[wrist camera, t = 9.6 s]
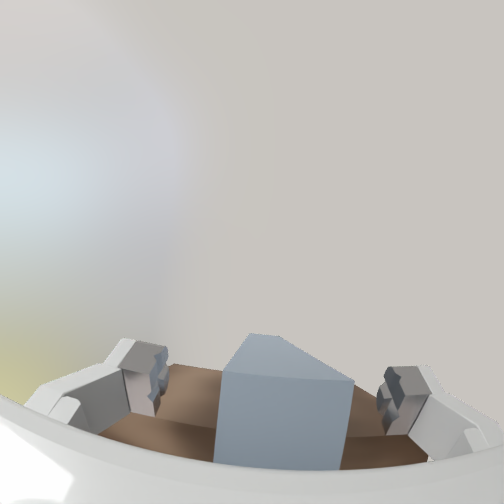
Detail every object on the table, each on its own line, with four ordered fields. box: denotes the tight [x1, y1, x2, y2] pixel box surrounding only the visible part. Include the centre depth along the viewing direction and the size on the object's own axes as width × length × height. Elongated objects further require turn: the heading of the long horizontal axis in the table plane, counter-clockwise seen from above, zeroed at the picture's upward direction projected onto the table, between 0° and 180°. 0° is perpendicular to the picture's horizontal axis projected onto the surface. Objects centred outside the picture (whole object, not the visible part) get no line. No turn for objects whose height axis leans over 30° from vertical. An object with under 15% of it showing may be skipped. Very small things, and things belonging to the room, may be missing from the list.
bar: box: [213, 333, 355, 471], centre depth 19 cm, size 3×26×3 cm, turn 179°
